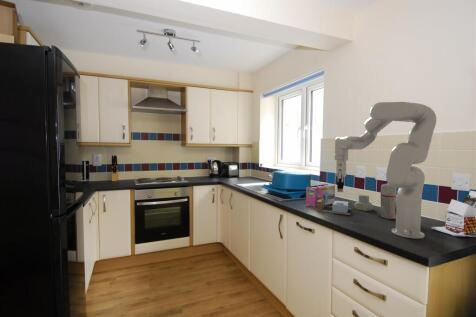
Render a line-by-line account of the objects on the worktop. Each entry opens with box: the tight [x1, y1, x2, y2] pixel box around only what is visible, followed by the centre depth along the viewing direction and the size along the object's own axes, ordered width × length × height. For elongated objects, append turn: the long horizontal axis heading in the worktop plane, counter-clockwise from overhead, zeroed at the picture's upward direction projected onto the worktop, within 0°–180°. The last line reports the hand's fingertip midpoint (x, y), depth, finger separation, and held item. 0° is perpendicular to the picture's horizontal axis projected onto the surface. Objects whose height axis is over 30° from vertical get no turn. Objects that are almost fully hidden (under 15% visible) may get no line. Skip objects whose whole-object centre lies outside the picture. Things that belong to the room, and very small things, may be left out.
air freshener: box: [353, 194, 374, 212], centre depth 162 cm, size 11×8×10 cm
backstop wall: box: [315, 197, 325, 213], centre depth 161 cm, size 15×2×6 cm, turn 153°
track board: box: [321, 205, 353, 216], centre depth 158 cm, size 15×19×2 cm
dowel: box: [336, 188, 344, 193], centre depth 153 cm, size 3×3×9 cm
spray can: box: [380, 182, 398, 220], centre depth 146 cm, size 8×8×20 cm
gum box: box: [305, 183, 336, 208], centre depth 176 cm, size 24×8×14 cm, turn 126°
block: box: [331, 200, 349, 213], centre depth 156 cm, size 12×8×5 cm, turn 153°
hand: (340, 188), depth 153 cm, fingers closed on dowel, 3 cm apart
